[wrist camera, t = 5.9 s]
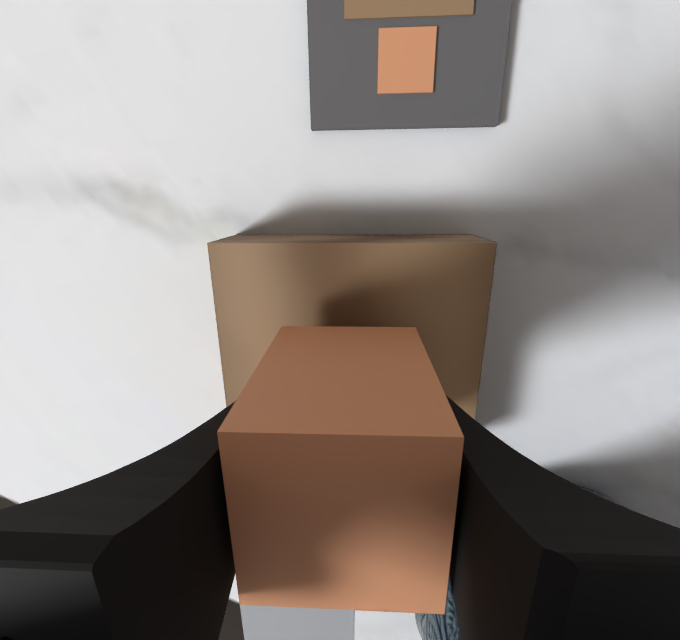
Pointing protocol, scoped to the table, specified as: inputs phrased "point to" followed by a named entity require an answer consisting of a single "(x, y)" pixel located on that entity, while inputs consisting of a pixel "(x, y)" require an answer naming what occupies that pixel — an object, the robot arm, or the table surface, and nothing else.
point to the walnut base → (355, 296)
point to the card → (406, 63)
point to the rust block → (342, 473)
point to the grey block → (296, 623)
